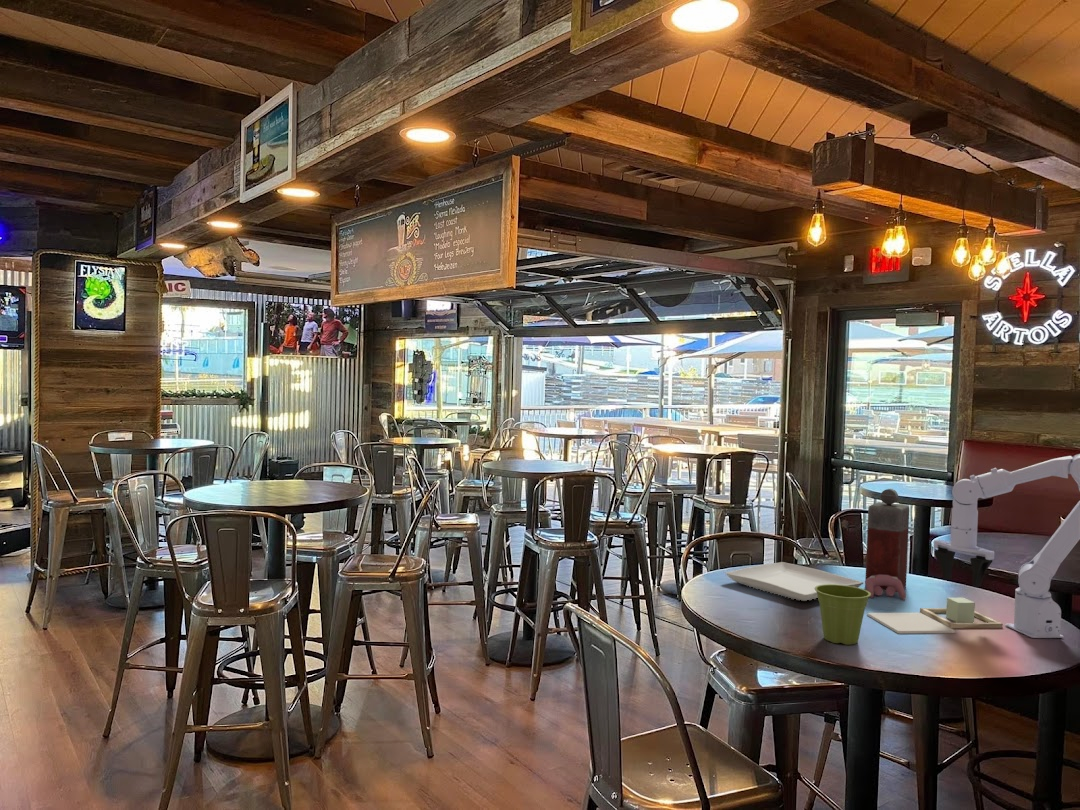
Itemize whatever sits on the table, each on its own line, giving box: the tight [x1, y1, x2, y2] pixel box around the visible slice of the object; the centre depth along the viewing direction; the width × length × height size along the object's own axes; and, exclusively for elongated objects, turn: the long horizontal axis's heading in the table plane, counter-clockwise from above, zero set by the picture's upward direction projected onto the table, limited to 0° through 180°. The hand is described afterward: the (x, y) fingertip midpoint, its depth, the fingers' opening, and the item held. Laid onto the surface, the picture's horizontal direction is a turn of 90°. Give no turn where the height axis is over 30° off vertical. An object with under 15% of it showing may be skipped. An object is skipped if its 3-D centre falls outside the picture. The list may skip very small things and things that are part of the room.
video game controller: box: [864, 575, 907, 601], centre depth 216 cm, size 10×5×7 cm, turn 84°
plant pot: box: [815, 584, 871, 646], centre depth 178 cm, size 12×12×11 cm
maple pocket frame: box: [919, 607, 1004, 629], centre depth 196 cm, size 13×13×1 cm
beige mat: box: [866, 612, 956, 635], centre depth 191 cm, size 14×14×1 cm
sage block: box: [945, 597, 976, 623], centre depth 196 cm, size 4×4×5 cm
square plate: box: [725, 561, 864, 602], centre depth 223 cm, size 27×27×4 cm
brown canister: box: [864, 488, 910, 591], centre depth 227 cm, size 9×11×28 cm
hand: (961, 582), depth 196 cm, fingers open, 7 cm apart
